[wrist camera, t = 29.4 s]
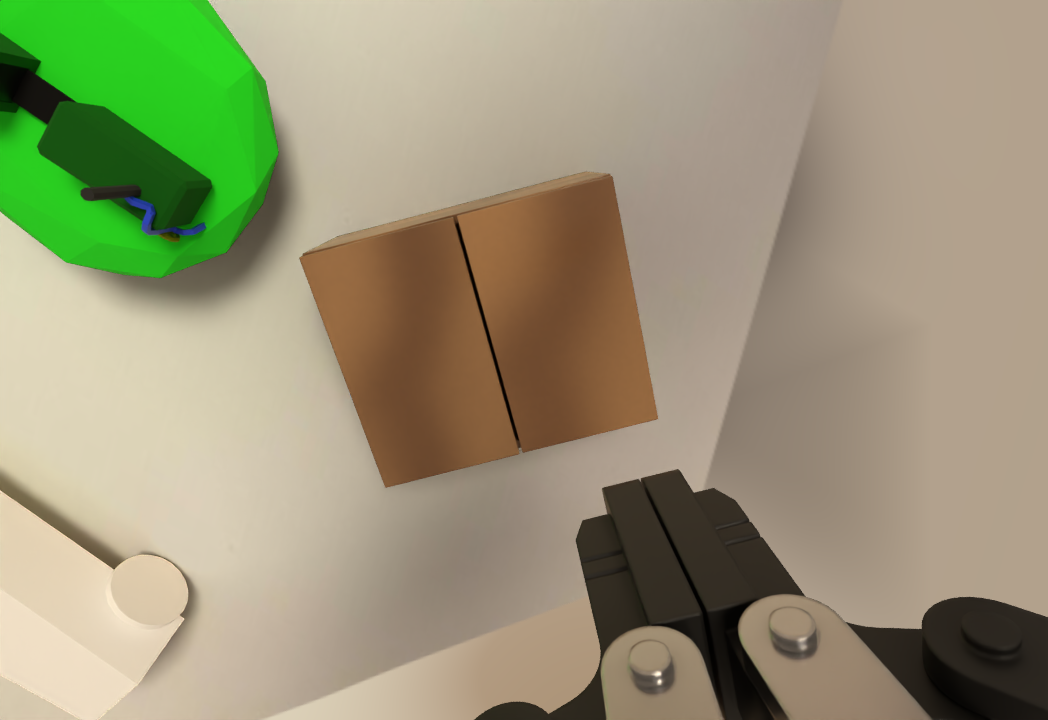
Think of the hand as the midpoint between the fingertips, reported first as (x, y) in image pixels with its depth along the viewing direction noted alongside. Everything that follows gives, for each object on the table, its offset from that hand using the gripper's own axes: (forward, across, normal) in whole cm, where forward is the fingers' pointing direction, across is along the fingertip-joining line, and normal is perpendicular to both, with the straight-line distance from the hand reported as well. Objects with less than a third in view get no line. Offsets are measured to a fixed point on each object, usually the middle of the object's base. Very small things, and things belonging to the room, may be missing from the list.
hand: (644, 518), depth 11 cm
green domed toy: (+21, +15, -12) cm, 28 cm away
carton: (+21, +3, 0) cm, 21 cm away
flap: (+14, 0, 0) cm, 14 cm away
